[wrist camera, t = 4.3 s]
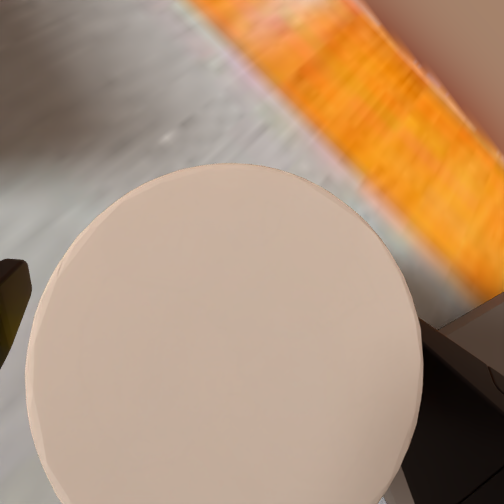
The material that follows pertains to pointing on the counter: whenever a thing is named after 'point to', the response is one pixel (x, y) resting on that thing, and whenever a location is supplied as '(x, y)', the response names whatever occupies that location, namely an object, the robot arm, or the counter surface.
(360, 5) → the counter surface
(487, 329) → the charcoal mat
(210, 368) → the supplement bottle
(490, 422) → the robot arm
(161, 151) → the counter surface
